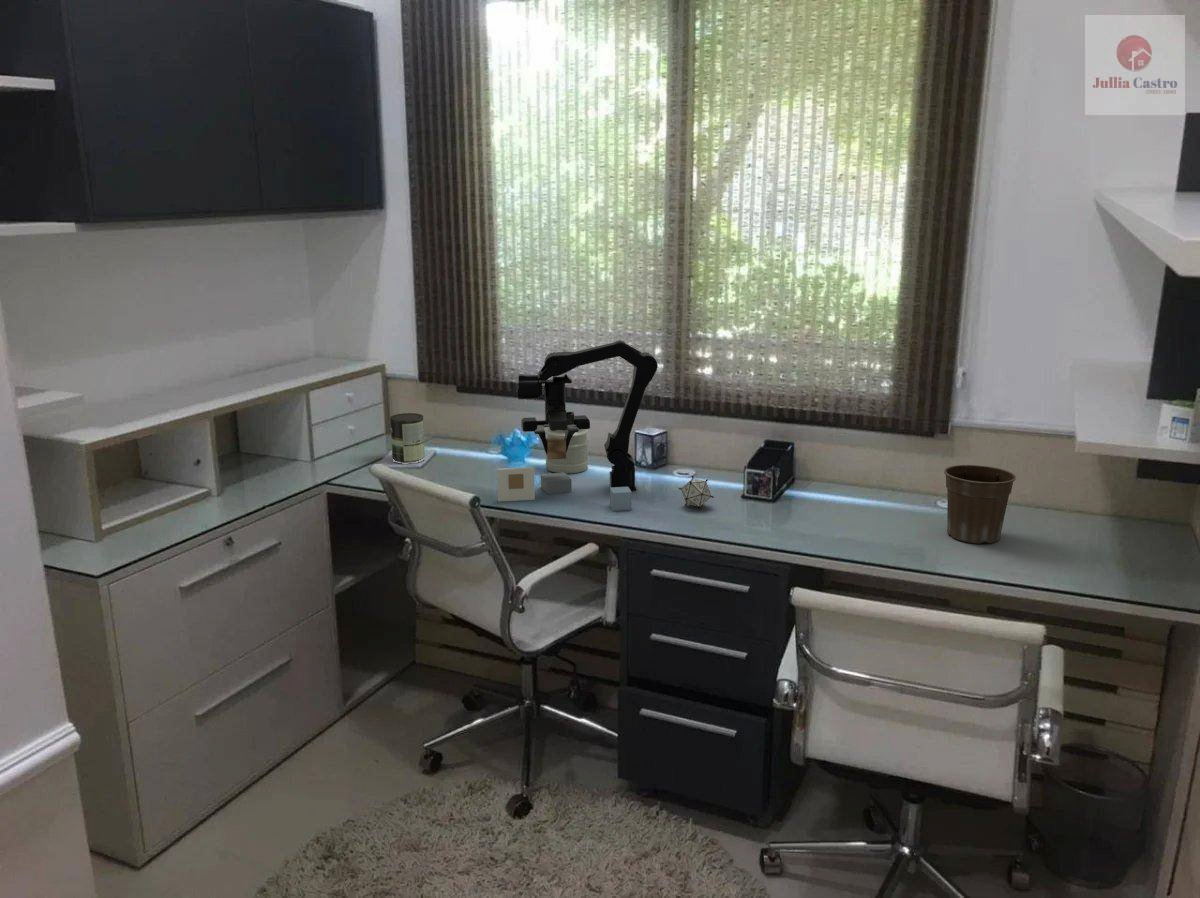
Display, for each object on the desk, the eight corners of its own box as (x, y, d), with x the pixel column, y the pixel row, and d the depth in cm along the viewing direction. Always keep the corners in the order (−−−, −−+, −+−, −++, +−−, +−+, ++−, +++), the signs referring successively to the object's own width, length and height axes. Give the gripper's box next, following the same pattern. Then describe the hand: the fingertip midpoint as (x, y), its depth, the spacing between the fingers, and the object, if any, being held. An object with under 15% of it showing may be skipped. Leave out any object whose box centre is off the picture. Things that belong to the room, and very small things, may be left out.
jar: (538, 471, 292) (537, 414, 288) (556, 461, 304) (556, 406, 299) (578, 476, 287) (577, 418, 283) (595, 465, 299) (594, 409, 294)
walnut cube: (563, 454, 275) (563, 437, 274) (566, 458, 270) (565, 441, 269) (546, 454, 274) (545, 437, 273) (548, 459, 269) (547, 442, 268)
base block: (564, 485, 279) (564, 472, 278) (571, 492, 272) (571, 479, 271) (541, 487, 277) (540, 474, 276) (547, 494, 270) (547, 481, 269)
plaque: (534, 498, 266) (533, 467, 264) (534, 500, 265) (534, 468, 263) (497, 500, 265) (496, 468, 262) (498, 501, 263) (497, 470, 261)
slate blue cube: (627, 504, 262) (627, 486, 260) (631, 510, 257) (631, 492, 256) (609, 505, 261) (609, 487, 260) (612, 511, 256) (613, 493, 255)
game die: (702, 519, 261) (726, 492, 257) (684, 515, 254) (708, 488, 251) (684, 496, 266) (707, 470, 262) (666, 492, 259) (689, 465, 256)
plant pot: (945, 521, 248) (951, 460, 243) (1013, 532, 240) (1020, 469, 236) (931, 540, 234) (937, 476, 230) (1003, 552, 226) (1010, 486, 222)
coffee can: (387, 464, 301) (385, 419, 297) (397, 455, 311) (395, 412, 307) (420, 464, 300) (418, 420, 296) (429, 456, 310) (427, 413, 306)
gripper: (524, 406, 259) (525, 462, 263) (593, 403, 262) (593, 459, 266) (520, 397, 269) (521, 451, 273) (586, 395, 272) (587, 448, 276)
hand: (555, 453), depth 272 cm, fingers closed on walnut cube, 5 cm apart
